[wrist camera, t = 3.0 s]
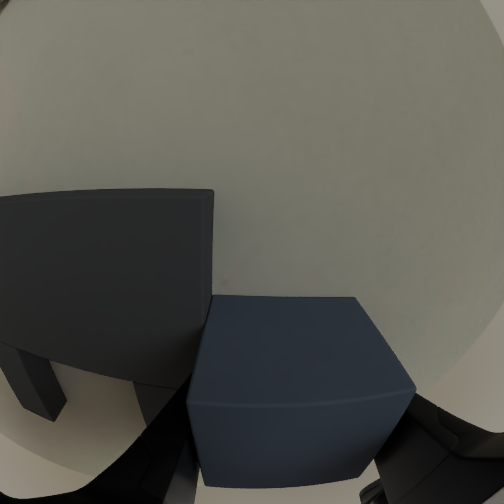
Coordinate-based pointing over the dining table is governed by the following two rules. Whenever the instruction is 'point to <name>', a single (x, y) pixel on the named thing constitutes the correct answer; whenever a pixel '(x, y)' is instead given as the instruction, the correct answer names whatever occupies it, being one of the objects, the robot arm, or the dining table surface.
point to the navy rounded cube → (292, 391)
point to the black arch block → (104, 289)
